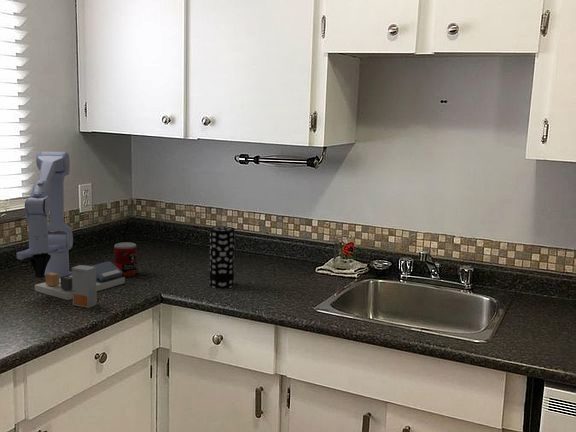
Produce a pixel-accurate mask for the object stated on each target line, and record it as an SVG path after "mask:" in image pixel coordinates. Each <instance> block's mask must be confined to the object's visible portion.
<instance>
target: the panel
mask: <svg viewBox="0 0 576 432" xmlns="http://www.w3.org/2000/svg"><path fill="white" fill-rule="evenodd" d="M68 276H69V277H72V274H71V275H68ZM61 278H62V277H60V278H59V285H55V286H50V285H46V281H44V282H41V283H37V284H34V291H35V292H36V293H42V294H44V295H48V296H52V297H56V298H59V299H61V300H66V301H69V300H73V297H72V289H71V290H65V289H61ZM122 284H126V277H123V276H118V277H114V278H111V279H107V280H104V281H101V280H99V279H98V278H97V277H96V288H97V292H99V291H102V290H107V289H109V288H113V287H117V286H119V285H122Z"/></svg>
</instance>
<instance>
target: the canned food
mask: <svg viewBox="0 0 576 432" xmlns="http://www.w3.org/2000/svg"><path fill="white" fill-rule="evenodd" d="M113 251H114V253H113V255H114V265H115V266H116V267H117V268H118V269H120V270H121V271H122V272H123V273H122V275H121V276H123V277H125V278H130V277H134V276H135V275H137V272H138V271H137V270H138V267H137V265H138V264H137V263H138V262H137V256H138V254H137V244H136V243H134V242H128V241H127V242H118V243H115V244H114V249H113Z"/></svg>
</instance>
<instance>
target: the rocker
mask: <svg viewBox="0 0 576 432" xmlns="http://www.w3.org/2000/svg"><path fill="white" fill-rule="evenodd" d="M91 266H92V267H96V277H97V278H98V279H99V280H101V281H104V280H107V279H111V278H114V277H118V276H121V275H122V273H123V272H122V271H121V270H120V269H118V268H117V267H116V266H115V263H112V262H111V261H109V260H108V261H104V262H100V263H96V264H93V265H91Z"/></svg>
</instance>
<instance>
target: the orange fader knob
mask: <svg viewBox="0 0 576 432" xmlns="http://www.w3.org/2000/svg"><path fill="white" fill-rule="evenodd" d="M44 278H45V282H46V285H50V286H55V285H59V274H57V273H53V272H51V273H47V274H45V275H44Z"/></svg>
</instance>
